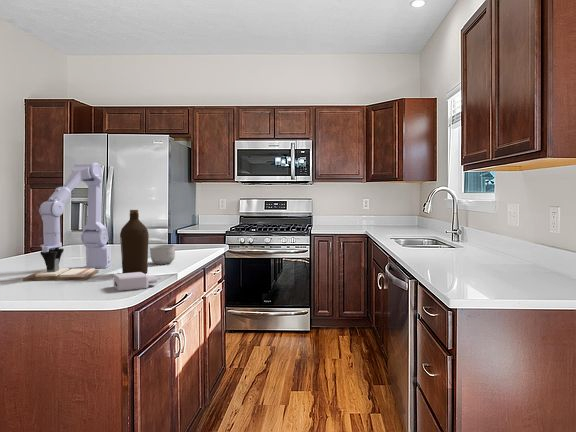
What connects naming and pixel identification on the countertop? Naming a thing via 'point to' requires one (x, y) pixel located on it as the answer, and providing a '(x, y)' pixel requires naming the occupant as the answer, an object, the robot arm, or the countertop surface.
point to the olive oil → (134, 245)
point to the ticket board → (56, 277)
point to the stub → (53, 272)
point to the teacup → (162, 254)
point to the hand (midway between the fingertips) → (52, 268)
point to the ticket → (77, 272)
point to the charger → (133, 281)
